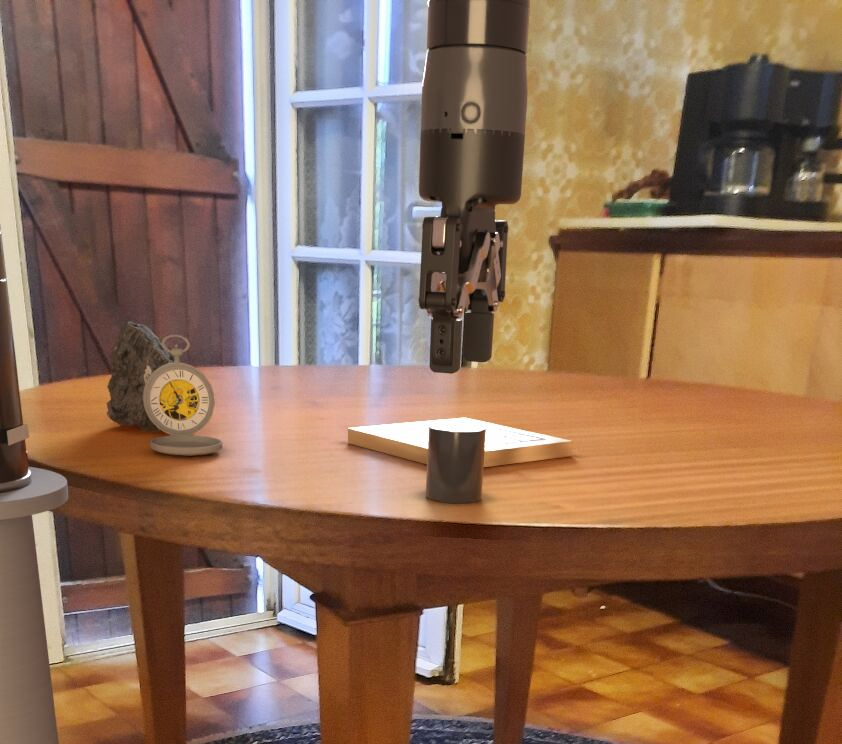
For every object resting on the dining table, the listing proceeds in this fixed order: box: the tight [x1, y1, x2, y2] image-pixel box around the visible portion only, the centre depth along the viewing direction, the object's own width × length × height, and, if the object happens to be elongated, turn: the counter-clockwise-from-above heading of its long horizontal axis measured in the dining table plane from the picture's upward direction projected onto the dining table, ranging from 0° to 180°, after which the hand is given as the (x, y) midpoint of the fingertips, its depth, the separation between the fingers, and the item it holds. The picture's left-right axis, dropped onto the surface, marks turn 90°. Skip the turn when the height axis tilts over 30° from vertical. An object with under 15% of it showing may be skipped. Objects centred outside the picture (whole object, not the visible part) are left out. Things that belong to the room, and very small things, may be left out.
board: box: [347, 417, 574, 468], centre depth 107 cm, size 16×16×2 cm
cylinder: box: [425, 422, 486, 504], centre depth 86 cm, size 5×5×6 cm
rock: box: [106, 320, 198, 432], centre depth 111 cm, size 12×10×10 cm
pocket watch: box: [143, 334, 223, 457], centre depth 99 cm, size 8×8×10 cm
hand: (461, 366), depth 84 cm, fingers open, 8 cm apart
